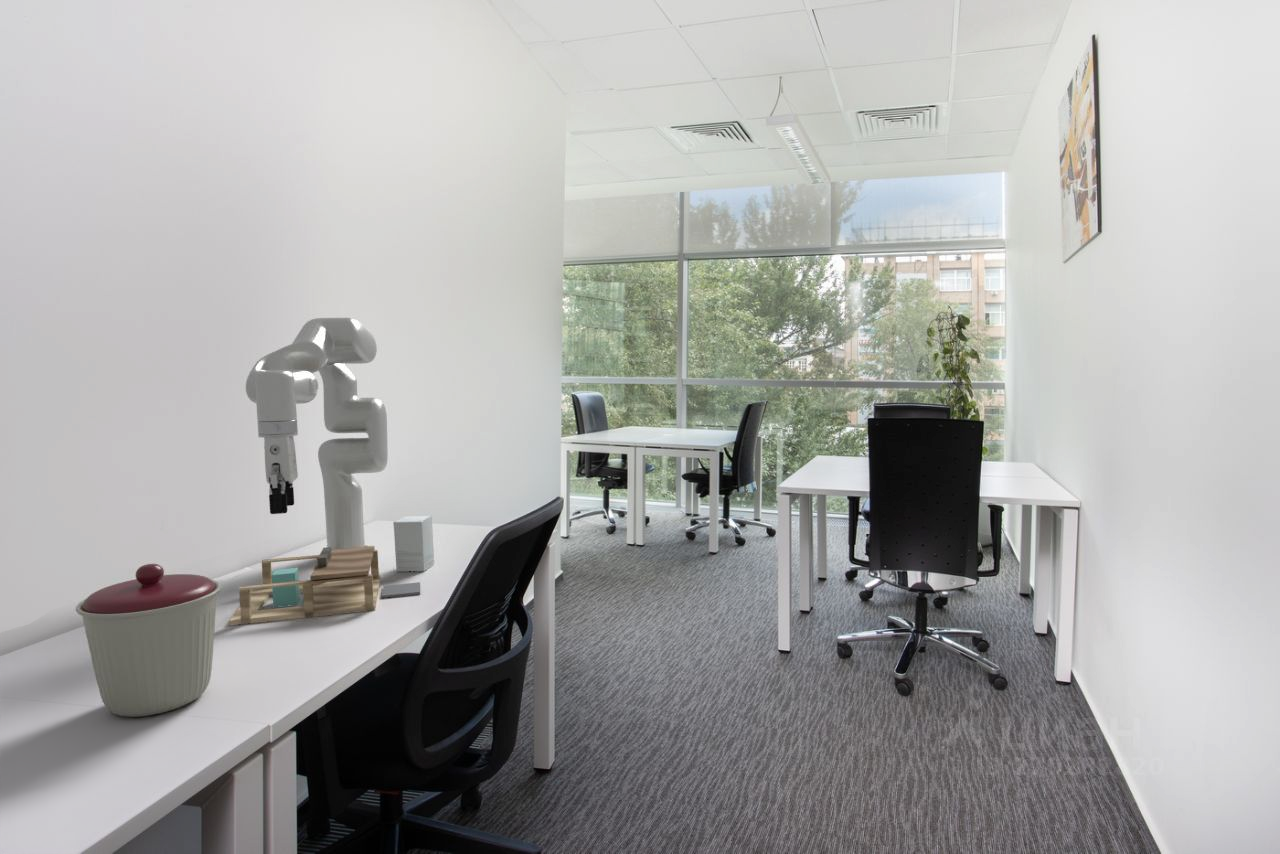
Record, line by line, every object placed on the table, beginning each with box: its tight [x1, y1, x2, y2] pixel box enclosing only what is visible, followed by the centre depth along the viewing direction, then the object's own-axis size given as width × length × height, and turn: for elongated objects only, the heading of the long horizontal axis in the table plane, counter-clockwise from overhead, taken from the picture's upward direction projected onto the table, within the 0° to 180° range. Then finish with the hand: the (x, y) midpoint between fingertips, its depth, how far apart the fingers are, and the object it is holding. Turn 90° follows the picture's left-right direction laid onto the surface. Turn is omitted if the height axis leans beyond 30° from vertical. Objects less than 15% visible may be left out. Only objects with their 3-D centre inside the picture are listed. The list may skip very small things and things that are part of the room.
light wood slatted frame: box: [228, 549, 381, 626], centre depth 161 cm, size 24×27×7 cm
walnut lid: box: [310, 545, 376, 580], centre depth 163 cm, size 24×11×3 cm, turn 17°
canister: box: [75, 563, 222, 718], centre depth 112 cm, size 18×18×21 cm
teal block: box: [272, 567, 301, 608], centre depth 160 cm, size 4×4×7 cm
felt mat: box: [381, 581, 421, 599], centre depth 167 cm, size 8×8×1 cm
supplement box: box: [393, 515, 435, 573], centre depth 186 cm, size 7×7×13 cm
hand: (282, 509), depth 159 cm, fingers open, 9 cm apart
